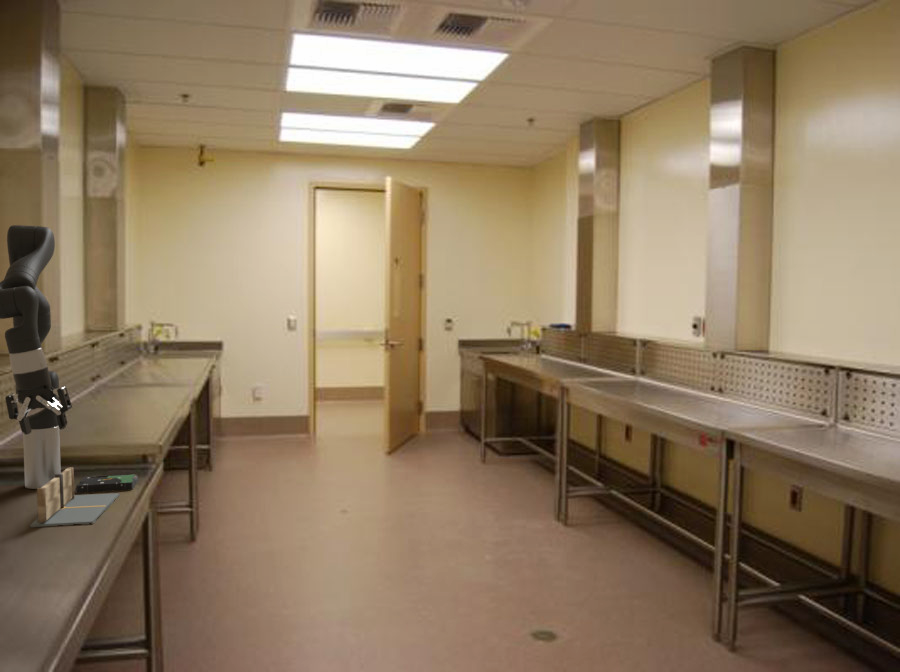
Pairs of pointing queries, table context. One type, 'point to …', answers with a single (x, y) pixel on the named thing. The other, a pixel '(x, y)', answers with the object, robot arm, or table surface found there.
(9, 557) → the table surface
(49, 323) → the robot arm
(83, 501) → the board
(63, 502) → the fixed fence section
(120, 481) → the disk drive
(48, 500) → the hinged fence panel
